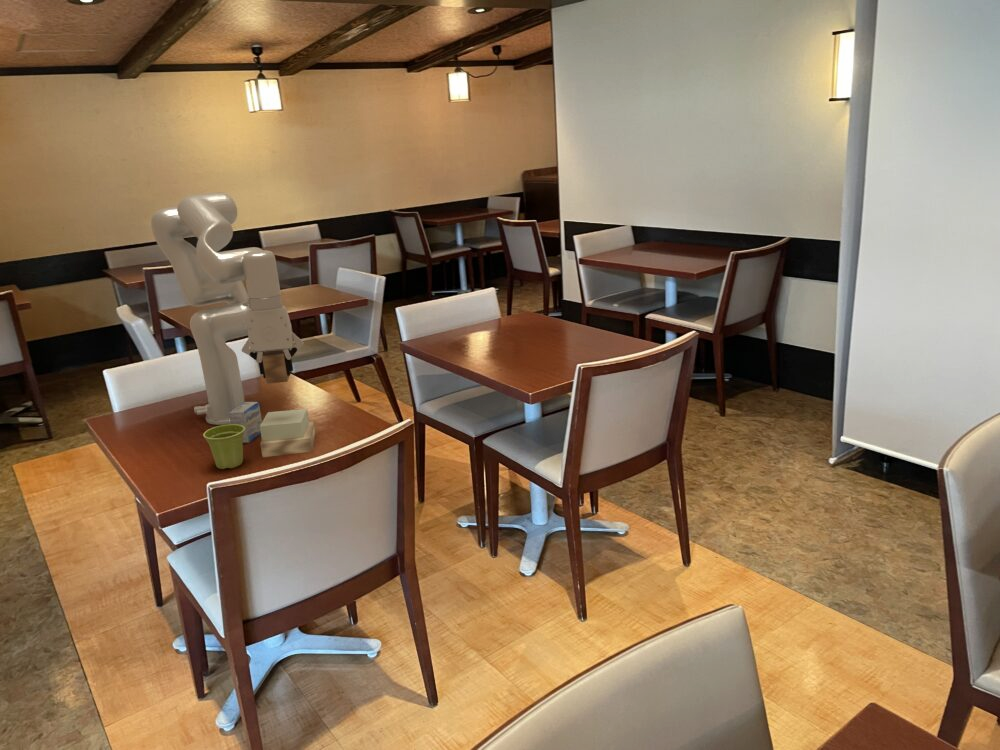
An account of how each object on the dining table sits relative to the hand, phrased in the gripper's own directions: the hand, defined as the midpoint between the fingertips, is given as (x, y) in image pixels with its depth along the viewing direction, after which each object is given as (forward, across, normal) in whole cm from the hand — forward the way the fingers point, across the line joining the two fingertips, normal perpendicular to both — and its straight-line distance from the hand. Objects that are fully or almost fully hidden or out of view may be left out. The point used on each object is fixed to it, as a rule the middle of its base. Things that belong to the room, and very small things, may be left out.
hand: (277, 374), depth 184 cm
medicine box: (+19, -11, +9) cm, 24 cm away
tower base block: (+19, 0, 0) cm, 19 cm away
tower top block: (+15, 0, 0) cm, 15 cm away
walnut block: (+1, 0, 0) cm, 1 cm away
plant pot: (+19, -13, -8) cm, 24 cm away
